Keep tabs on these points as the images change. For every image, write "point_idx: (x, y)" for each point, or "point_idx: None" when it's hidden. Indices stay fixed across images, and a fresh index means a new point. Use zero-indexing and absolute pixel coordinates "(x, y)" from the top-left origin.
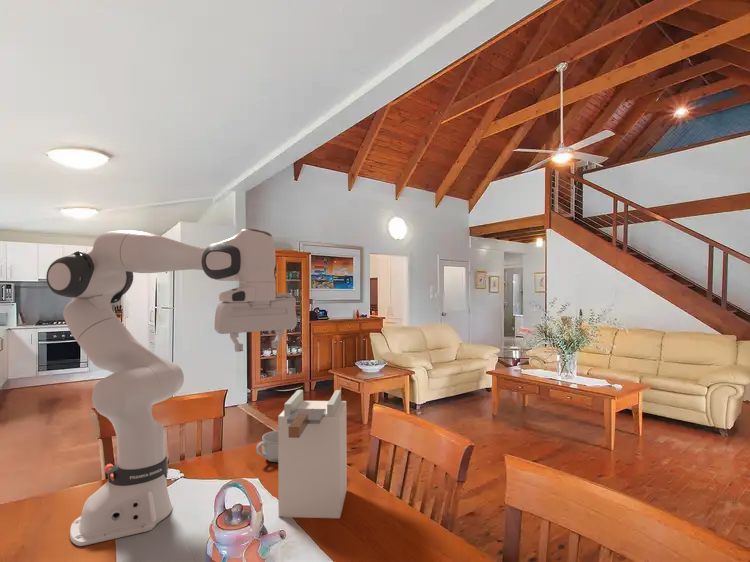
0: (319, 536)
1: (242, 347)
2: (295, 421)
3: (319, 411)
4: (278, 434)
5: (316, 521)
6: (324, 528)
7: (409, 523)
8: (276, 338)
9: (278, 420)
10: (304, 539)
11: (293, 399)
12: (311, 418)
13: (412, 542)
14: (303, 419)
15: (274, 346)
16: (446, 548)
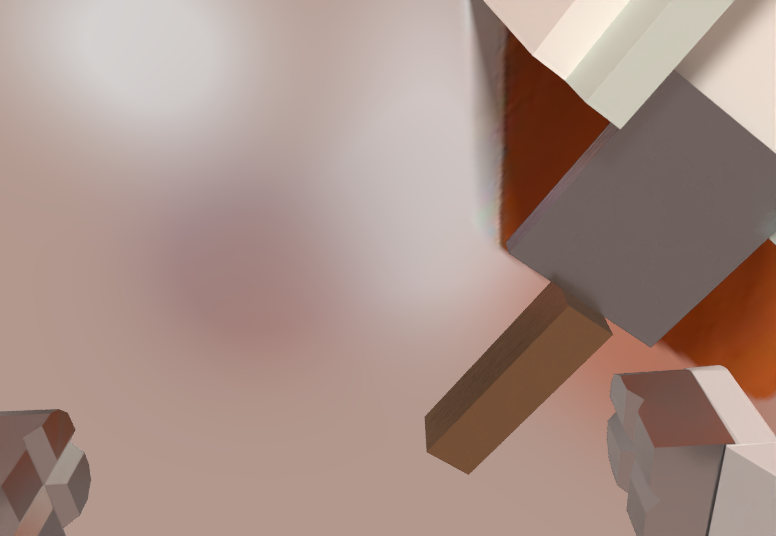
0: (525, 164)
1: (61, 533)
2: (489, 406)
3: (752, 216)
4: (514, 33)
5: (560, 84)
6: (559, 135)
7: (771, 244)
8: (759, 520)
9: (528, 50)
10: (482, 154)
11: (713, 12)
12: (629, 308)
13: (705, 312)
14: (539, 401)
15: (617, 477)
16: (746, 367)
